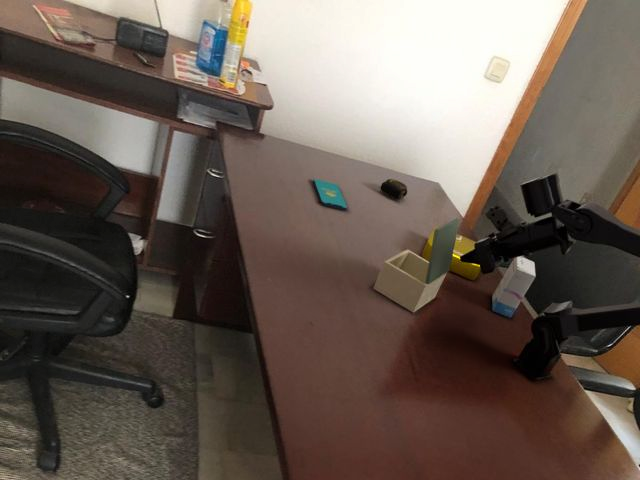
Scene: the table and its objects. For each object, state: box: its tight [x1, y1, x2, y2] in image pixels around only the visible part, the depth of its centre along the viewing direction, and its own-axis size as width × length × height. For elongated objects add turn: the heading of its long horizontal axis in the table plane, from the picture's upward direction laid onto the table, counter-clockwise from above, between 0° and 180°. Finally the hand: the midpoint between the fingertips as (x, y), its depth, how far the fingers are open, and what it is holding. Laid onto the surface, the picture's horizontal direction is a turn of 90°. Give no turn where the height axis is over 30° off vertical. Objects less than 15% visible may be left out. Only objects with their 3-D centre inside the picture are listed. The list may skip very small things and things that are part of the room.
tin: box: [373, 249, 447, 314], centre depth 145 cm, size 11×12×7 cm
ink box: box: [491, 256, 537, 319], centre depth 154 cm, size 9×5×12 cm, turn 168°
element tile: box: [421, 225, 481, 281], centre depth 168 cm, size 15×15×5 cm
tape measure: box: [380, 178, 408, 201], centre depth 190 cm, size 7×7×4 cm
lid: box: [425, 217, 461, 284], centre depth 138 cm, size 11×12×1 cm
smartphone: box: [312, 178, 348, 211], centre depth 176 cm, size 7×1×15 cm
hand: (460, 259), depth 137 cm, fingers closed
